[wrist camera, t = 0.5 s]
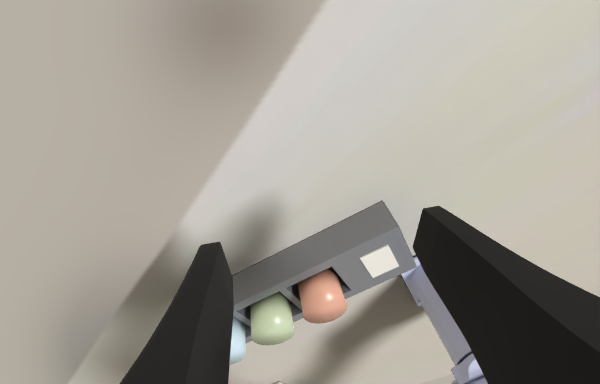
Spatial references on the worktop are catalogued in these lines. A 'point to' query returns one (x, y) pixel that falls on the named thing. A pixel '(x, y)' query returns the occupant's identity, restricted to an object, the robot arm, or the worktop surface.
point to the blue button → (237, 341)
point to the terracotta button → (322, 297)
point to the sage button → (271, 320)
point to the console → (328, 262)
